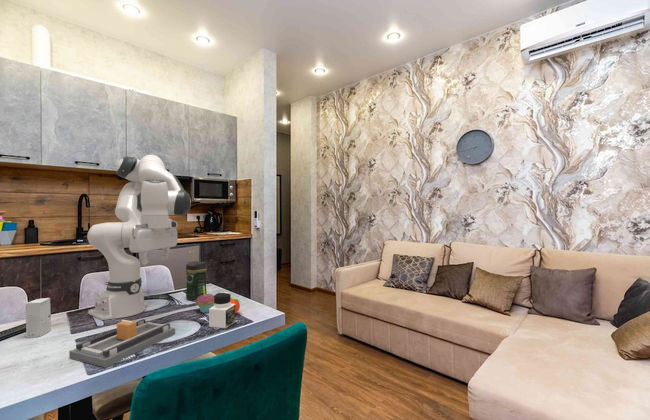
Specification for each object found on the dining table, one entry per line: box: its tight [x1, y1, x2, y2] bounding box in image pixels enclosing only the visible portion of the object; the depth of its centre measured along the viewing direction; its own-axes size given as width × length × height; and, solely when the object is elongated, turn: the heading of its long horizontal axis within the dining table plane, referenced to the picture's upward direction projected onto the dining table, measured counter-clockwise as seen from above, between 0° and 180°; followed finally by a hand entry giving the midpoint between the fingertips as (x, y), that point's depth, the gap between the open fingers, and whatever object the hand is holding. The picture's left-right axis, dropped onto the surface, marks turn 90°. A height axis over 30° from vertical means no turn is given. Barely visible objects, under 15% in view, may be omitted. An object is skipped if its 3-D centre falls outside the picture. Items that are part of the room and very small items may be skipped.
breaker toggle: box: [116, 319, 137, 340], centre depth 98 cm, size 5×3×6 cm, turn 70°
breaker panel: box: [68, 321, 176, 368], centre depth 98 cm, size 16×24×4 cm, turn 159°
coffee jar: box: [185, 260, 208, 302], centre depth 148 cm, size 10×8×19 cm
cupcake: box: [195, 285, 215, 314], centre depth 130 cm, size 9×8×12 cm
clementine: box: [230, 297, 241, 315], centre depth 126 cm, size 8×7×7 cm
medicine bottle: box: [208, 291, 236, 329], centre depth 115 cm, size 7×7×12 cm
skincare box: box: [25, 297, 52, 339], centre depth 107 cm, size 6×4×12 cm
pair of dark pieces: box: [75, 318, 171, 356], centre depth 98 cm, size 13×22×1 cm, turn 159°
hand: (155, 262), depth 107 cm, fingers open, 8 cm apart
